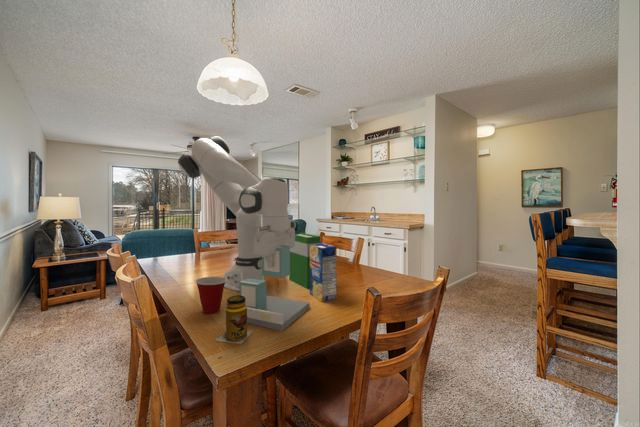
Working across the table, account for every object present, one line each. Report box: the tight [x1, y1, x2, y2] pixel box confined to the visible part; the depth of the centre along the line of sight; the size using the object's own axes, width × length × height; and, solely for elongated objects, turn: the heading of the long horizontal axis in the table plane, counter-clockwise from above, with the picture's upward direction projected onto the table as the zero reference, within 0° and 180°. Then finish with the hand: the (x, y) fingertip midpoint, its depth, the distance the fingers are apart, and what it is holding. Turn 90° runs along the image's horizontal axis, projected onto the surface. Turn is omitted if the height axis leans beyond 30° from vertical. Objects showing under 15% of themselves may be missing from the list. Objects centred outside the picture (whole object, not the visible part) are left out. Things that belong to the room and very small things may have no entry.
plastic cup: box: [195, 276, 227, 315], centre depth 99 cm, size 11×11×12 cm
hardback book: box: [288, 232, 321, 290], centre depth 133 cm, size 18×7×24 cm, turn 35°
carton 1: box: [238, 278, 267, 310], centre depth 96 cm, size 8×5×10 cm, turn 66°
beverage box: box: [309, 242, 338, 303], centre depth 114 cm, size 7×11×22 cm, turn 29°
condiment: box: [215, 294, 253, 345], centre depth 81 cm, size 7×8×12 cm
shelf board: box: [247, 294, 311, 332], centre depth 97 cm, size 20×20×5 cm
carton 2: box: [262, 245, 290, 279], centre depth 92 cm, size 8×5×10 cm, turn 66°
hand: (276, 264), depth 92 cm, fingers closed on carton 2, 5 cm apart
